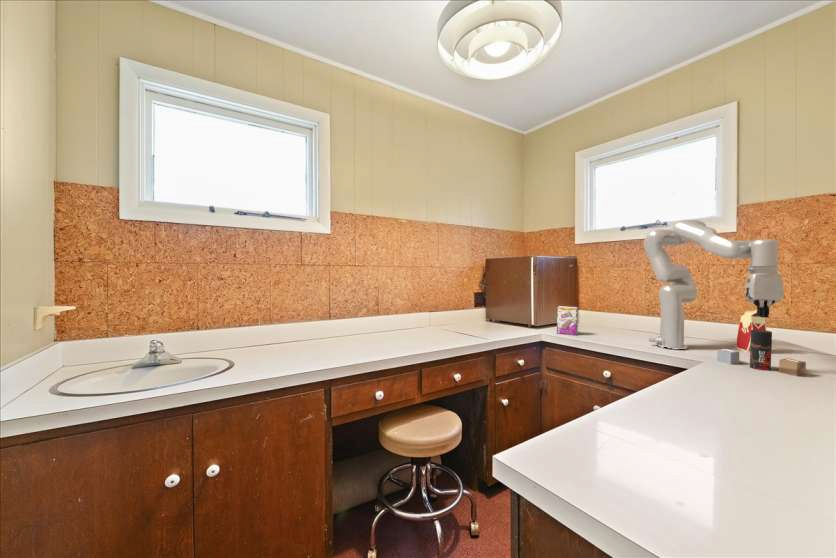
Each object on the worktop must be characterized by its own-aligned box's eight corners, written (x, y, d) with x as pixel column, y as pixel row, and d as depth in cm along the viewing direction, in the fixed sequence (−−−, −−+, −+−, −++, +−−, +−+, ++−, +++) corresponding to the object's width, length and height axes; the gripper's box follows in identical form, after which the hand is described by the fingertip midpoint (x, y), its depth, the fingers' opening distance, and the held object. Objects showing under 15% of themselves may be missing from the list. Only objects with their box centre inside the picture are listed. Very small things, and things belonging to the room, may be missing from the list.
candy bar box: (556, 333, 204) (556, 306, 203) (558, 332, 208) (558, 305, 208) (576, 335, 198) (577, 308, 197) (577, 334, 202) (578, 307, 202)
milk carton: (771, 353, 156) (772, 310, 155) (747, 352, 158) (748, 310, 157) (755, 348, 165) (757, 308, 164) (733, 348, 166) (734, 307, 166)
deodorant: (764, 366, 137) (766, 330, 136) (774, 371, 131) (775, 333, 131) (746, 365, 139) (747, 329, 138) (755, 369, 133) (756, 332, 132)
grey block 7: (730, 364, 140) (730, 352, 140) (717, 361, 145) (717, 349, 145) (739, 363, 142) (739, 351, 142) (725, 360, 147) (725, 348, 146)
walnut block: (796, 376, 125) (796, 362, 125) (779, 372, 130) (779, 359, 130) (805, 375, 127) (805, 361, 126) (787, 371, 131) (788, 358, 131)
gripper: (747, 271, 131) (746, 318, 132) (795, 270, 128) (794, 318, 128) (734, 270, 139) (734, 315, 139) (779, 270, 135) (779, 316, 135)
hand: (762, 316), depth 134 cm, fingers closed
